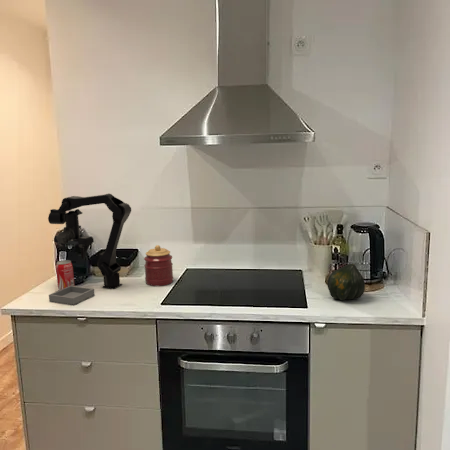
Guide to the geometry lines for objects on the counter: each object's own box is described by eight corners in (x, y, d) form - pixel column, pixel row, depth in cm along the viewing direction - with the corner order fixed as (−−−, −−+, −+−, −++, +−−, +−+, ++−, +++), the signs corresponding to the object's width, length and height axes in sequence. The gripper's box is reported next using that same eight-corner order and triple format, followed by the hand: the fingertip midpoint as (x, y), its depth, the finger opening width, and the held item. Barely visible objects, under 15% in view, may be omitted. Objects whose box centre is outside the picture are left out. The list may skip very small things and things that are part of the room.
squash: (314, 284, 195) (337, 261, 186) (334, 277, 205) (356, 255, 197) (336, 312, 189) (360, 290, 180) (355, 304, 199) (379, 282, 191)
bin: (94, 295, 205) (94, 288, 204) (73, 305, 193) (73, 298, 193) (71, 292, 210) (70, 285, 210) (49, 301, 199) (48, 294, 198)
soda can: (77, 287, 217) (74, 259, 215) (70, 292, 210) (68, 263, 208) (62, 287, 218) (59, 259, 215) (55, 292, 211) (52, 263, 208)
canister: (161, 288, 213) (159, 249, 209) (139, 284, 219) (137, 246, 216) (179, 280, 223) (177, 243, 220) (157, 276, 230) (155, 241, 227)
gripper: (43, 226, 212) (46, 260, 215) (75, 228, 205) (79, 263, 207) (61, 222, 222) (64, 254, 225) (93, 224, 214) (95, 257, 217)
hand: (75, 257), depth 218 cm, fingers open, 9 cm apart
